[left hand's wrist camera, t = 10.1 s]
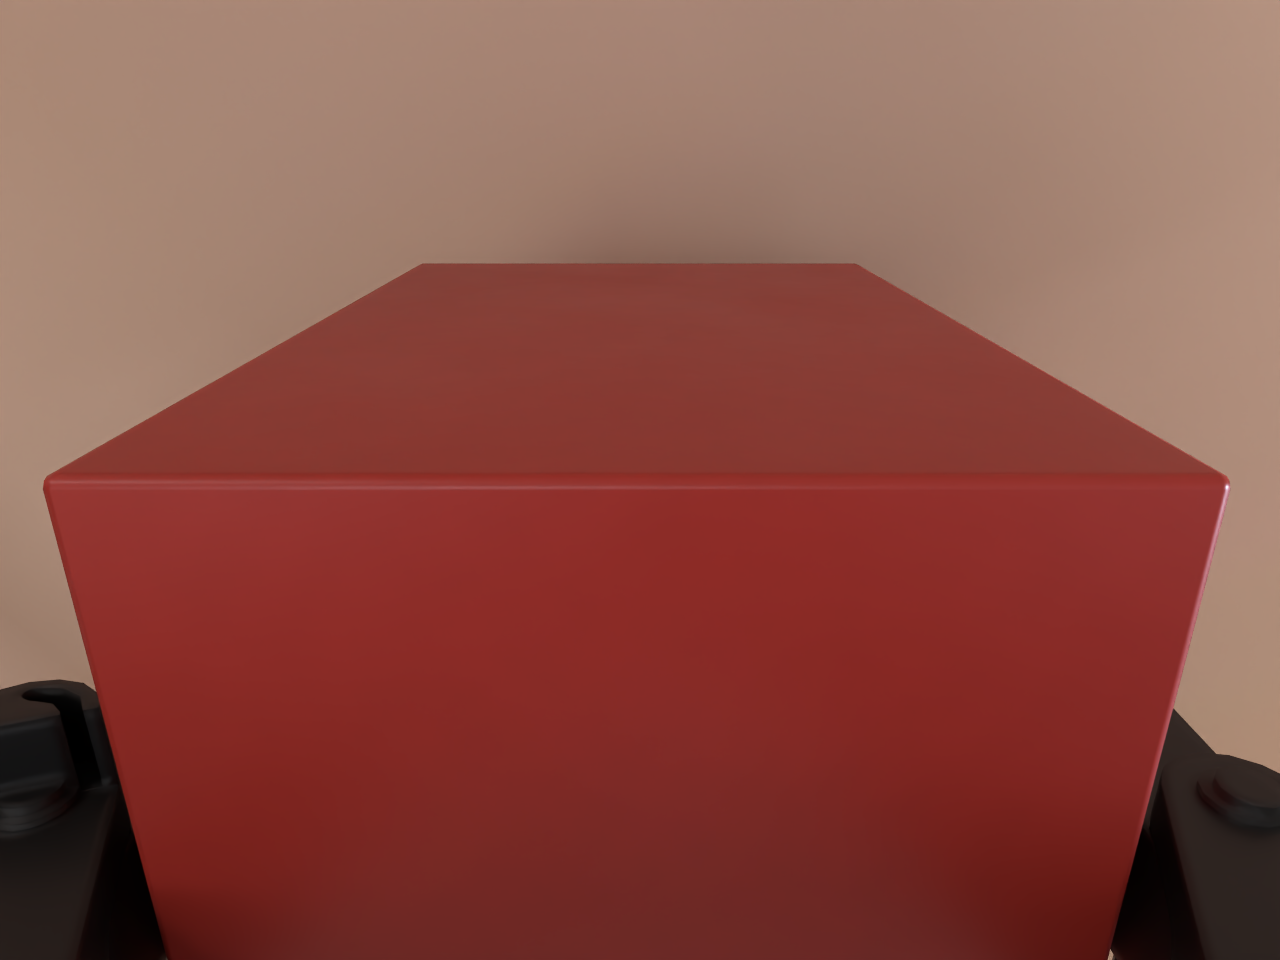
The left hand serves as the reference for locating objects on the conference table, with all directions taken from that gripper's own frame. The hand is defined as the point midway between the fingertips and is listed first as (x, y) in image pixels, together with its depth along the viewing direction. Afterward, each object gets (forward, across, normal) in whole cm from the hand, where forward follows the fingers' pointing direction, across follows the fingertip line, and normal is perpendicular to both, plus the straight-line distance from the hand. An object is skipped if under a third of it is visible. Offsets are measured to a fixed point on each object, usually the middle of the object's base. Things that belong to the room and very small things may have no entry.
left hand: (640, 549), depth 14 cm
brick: (+2, 0, 0) cm, 2 cm away
